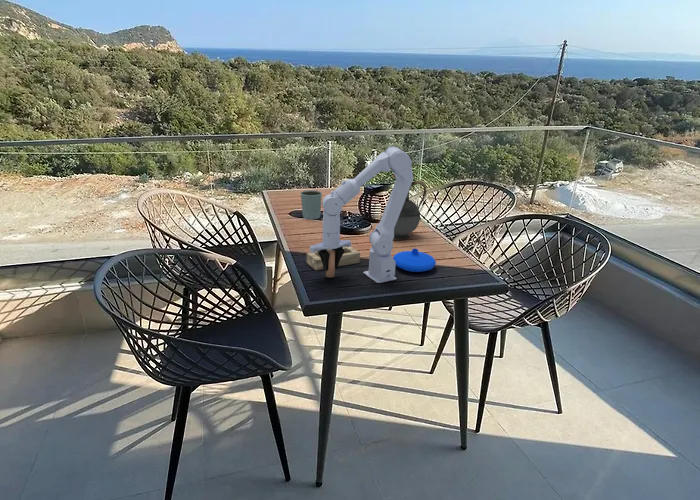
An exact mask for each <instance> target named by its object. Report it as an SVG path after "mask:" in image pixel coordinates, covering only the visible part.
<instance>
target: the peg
mask: <svg viewBox="0 0 700 500" xmlns="http://www.w3.org/2000/svg"><path fill="white" fill-rule="evenodd" d="M327 251H328V253H329V254H330V256H329V261H328V271H325V277H326V278H330V279H333V278H335V270H336V269H335V251H334V250H327Z"/></svg>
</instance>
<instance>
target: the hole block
mask: <svg viewBox="0 0 700 500" xmlns="http://www.w3.org/2000/svg"><path fill="white" fill-rule="evenodd" d="M343 249H344V254H343V255H342V257H341V259H340V261H339V264H338V267H344V266H348V265H353V264H359V263H361V262H360V260H361V252H360V251H358V250H357V249H355V248H354V247H353V246H351V247H343ZM329 250H332V249H329ZM306 264H307V265H308V266H310V267H311V268H312V269H313V270H314V271H321V270H324V269H323V264H322V260H321V258H320V256H319V254H318V252H315V253H312V252H311V251H309V252H306Z"/></svg>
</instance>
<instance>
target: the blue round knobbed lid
mask: <svg viewBox="0 0 700 500" xmlns="http://www.w3.org/2000/svg"><path fill="white" fill-rule="evenodd" d="M392 258H393V259H394V260H395V262H396V266H395V267H397V268H400V269H402V270H403V271H406V272H413V273H421V272H422V273H423V272H426V271H430V270H433V268H435V266H436V263H437V261H436V259H435V258H434V257H433V256H432V255H430V254H428V253H426V252H422V251H419V249H418V248H412V249H411V250H405V251H399V252H397V253H395V254H394V255H393V256H392Z"/></svg>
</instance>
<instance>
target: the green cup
mask: <svg viewBox="0 0 700 500" xmlns="http://www.w3.org/2000/svg"><path fill="white" fill-rule="evenodd" d="M322 195H323V194H322V192H321V191H319V190H304V191H301V192H300V200H301V201H300V202H301V211H302V218H303V219H306V220H318V219H320V218H321V213H322V210H321V209H322Z"/></svg>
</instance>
